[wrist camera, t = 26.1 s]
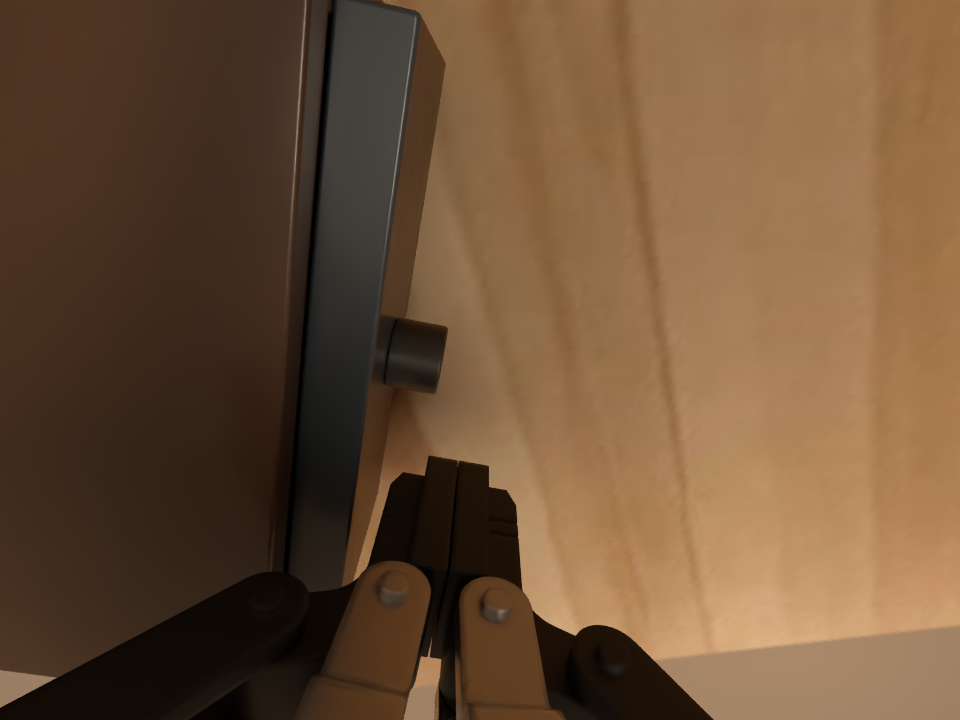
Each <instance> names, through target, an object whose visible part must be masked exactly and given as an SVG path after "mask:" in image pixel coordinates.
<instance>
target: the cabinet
mask: <svg viewBox="0 0 960 720" xmlns="http://www.w3.org/2000/svg"><path fill="white" fill-rule="evenodd" d="M333 1H334V0H0V670H3V671H11V672H18V673H27V674H33V675H42V676H49V677H56V678H58V677H60V676H61V675H63V674H65V673H67V672H69V671H71V670H73V669H75V668H77V667H78V666H80V665H82V664H84V663H86V662H88V661H90V660H92V659H94V658H96V657H97V656H99V655H101V654H103V653H105V652H107V651H109V650H111V649H113V648H114V647H116V646H118V645H120V644H122V643H124V642H126V641H128V640H130V639H131V638H133V637H135V636H137V635H139V634H141V633H143V632H145V631H147V630H148V629H150V628H152V627H154V626H156V625H158V624H160V623H162V622H164V621H166V620H167V619H169V618H171V617H173V616H175V615H177V614H179V613H181V612H183V611H184V610H186V609H188V608H190V607H192V606H194V605H196V604H198V603H200V602H201V601H203V600H205V599H207V598H209V597H211V596H213V595H215V594H217V593H218V592H220V591H222V590H224V589H226V588H228V587H230V586H232V585H234V584H236V583H237V582H239V581H241V580H243V579H245V578H247V577H249V576H252V575H255V574H258V573H263V572H272V571H274V572H283V573H286V567H287V555H288V543H289V531H290V519H291V507H292V495H293V483H294V471H295V466H294V468H293V470H292V457H293V445H294V432H295V420H296V407H297V395H298V382H299V370H300V358H301V345H302V333H303V320H304V308H305V295H306V283H307V270H308V258H309V245H310V233H311V220H312V208H313V195H314V183H315V171H316V158H317V146H318V133H319V121H320V108H321V96H322V83H323V71H325V72H326V73H328V61H329V49H330V37H331V24H332V12H333ZM373 1H377V2H381V3H384V2H383V1H382V0H373ZM291 470H292V471H291Z"/></svg>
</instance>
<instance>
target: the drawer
mask: <svg viewBox="0 0 960 720" xmlns="http://www.w3.org/2000/svg"><path fill="white" fill-rule="evenodd" d="M444 71H445V61H444V59H443V57H442V55H441V53H440V51H439V49H438V48H437V46H436V44H435V42H434V40H433V38H432V36H431V34H430V32H429V30H428V28H427V26H426V24H425V22H424V20H423V18H422V17H421V15H420V13H418V12H417V11H415V10H411V9H406V8H402V7H398V6H394V5H390V4H385V3H381V2H377V1H373V0H334V1H333V12H332V24H331V37H330V49H329V61H328V73H326V72H325V71H323V83H322V96H321V108H320V121H319V133H318V146H317V158H316V171H315V183H314V195H313V208H312V220H311V233H310V245H309V258H308V270H307V283H306V295H305V308H304V320H303V333H302V345H301V358H300V370H299V382H298V395H297V407H296V420H295V432H294V445H293V457H292V470H293V468H294V466H295V471H294V483H293V495H292V507H291V519H290V531H289V543H288V555H287V567H286V573H288V574H290V575H293V576H295V577H296V578H298V579H299V580H301V581H302V582H303V583H304V585H305V586H306V587H307V589H308V592H317V591H326V590H332V589H337V588H340V587H343V586H346V585H348V584H350V583H352V582H353V579H354V576H355V572H356V569H357V565H358V561H359V558H360V554H361V551H362V547H363V544H364V540H365V536H366V533H367V529H368V526H369V522H370V519H371V515H372V511H373V508H374V504H375V501H376V497H377V494H378V488H379V482H380V476H381V470H382V463H383V457H384V451H385V444H386V438H387V432H388V425H389V419H390V413H391V406H392V400H393V394H394V387H396V388H401V389H407V390H412V391H418V392H423V393H429V394H435V393H436V391H437V387H438V382H439V377H440V372H441V366H442V361H443V356H444V350H445V345H446V339H447V333H448V328H447V327H446V326H441V325H436V324H430V323H425V322H420V321H415V320H410V319H405V318H406V312H407V305H408V299H409V293H410V286H411V280H412V274H413V267H414V261H415V255H416V248H417V242H418V236H419V229H420V223H421V217H422V210H423V204H424V198H425V191H426V185H427V179H428V172H429V166H430V160H431V153H432V147H433V141H434V135H435V128H436V122H437V116H438V109H439V103H440V97H441V90H442V84H443V78H444ZM292 470H291V471H292Z"/></svg>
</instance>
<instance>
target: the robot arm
mask: <svg viewBox="0 0 960 720" xmlns="http://www.w3.org/2000/svg"><path fill="white" fill-rule="evenodd" d="M457 465H458V467H457ZM431 639H432V643H431ZM430 643H431V652H430V657H432V658H438V659H441V671H440V679H439V683H438V687H437V691H436V695H435V720H713V719H712V718H711V717H710V716H709V715H708V714H707V713H706V712H705V711H704V710H703V709H702V708H701V707H700V706H699V705H698V704H697V703H696V702H695V701H694V700H693V699H692V698H691V697H690V696H689V695H688V694H687V693H686V692H685V691H684V690H683V689H682V688H681V687H680V686H679V685H678V684H677V683H676V682H675V681H674V680H673V679H672V678H671V677H670V676H669V675H668V674H667V673H666V672H665V671H664V670H663V669H662V668H661V667H660V666H659V665H658V664H657V663H656V662H655V661H654V660H653V659H652V658H651V657H650V656H649V655H648V654H647V653H646V652H645V651H644V650H643V649H642V648H641V647H640V646H639V645H638V644H637V643H636V642H634V641H633V640H632V639H631V638H630V637H628V636H627V635H626V634H624V633H622V632H621V631H619V630H617V629H614V628H612V627H608V626H603V625H592V626H588V627H586V628H583V629H582V630H581V631H579V633H578V634H577V635H576V636H574V635H572V634H570V633H568V632H566V631H564V630H561V629H559V628H557V627H555V626H553V625H551V624H549V623H547V622H546V621H544V620H543V619H542V618H540V617H539V616H538V615H537V614H536V613H535V612H534V611H533V610H532V607H531V604H530V602H529V599H528V598H527V596H526V595H525V594H524V592H523V590H522V581H521V567H520V553H519V539H518V526H517V512H516V505H515V503H514V502H513V500H512V498H511V497H510V495H509V493H508V492H507V490H502V489H496V488H491V487H489V466H486V465H481V464H475V463H469V462H464V461H459V463H458V461H457V460H452V459H446V458H441V457H435V456H429V457H428V462H427V467H426V472H425V476H422V475H416V474H410V473H405V472H403V473H402V474H401V475H400V476H399V477H398V478H397V479H395V480H394V481H393V482H392V483H391V485H390V488H389V492H388V496H387V499H386V503H385V506H384V510H383V514H382V517H381V521H380V524H379V528H378V531H377V535H376V539H375V542H374V546H373V549H372V553H371V556H370V560H369V563H368V566H367V568H366V569H365V570H364V571H363V572H362V573H361V575H360V576H359V578H357V579H356V580H355V581H353V582H352V583H350V584H348V585H346V586H343V587H340V588H337V589H332V590H326V591H317V592H308V589H307V587H306V586H305V585H304V583H303V582H302V581H301V580H299V579H298V578H296V577H295V576H293V575H290V574H288V573H283V572H274V571H272V572H263V573H258V574H255V575H252V576H249V577H247V578H245V579H243V580H241V581H239V582H237V583H236V584H234V585H232V586H230V587H228V588H226V589H224V590H222V591H220V592H218V593H217V594H215V595H213V596H211V597H209V598H207V599H205V600H203V601H201V602H200V603H198V604H196V605H194V606H192V607H190V608H188V609H186V610H184V611H183V612H181V613H179V614H177V615H175V616H173V617H171V618H169V619H167V620H166V621H164V622H162V623H160V624H158V625H156V626H154V627H152V628H150V629H148V630H147V631H145V632H143V633H141V634H139V635H137V636H135V637H133V638H131V639H130V640H128V641H126V642H124V643H122V644H120V645H118V646H116V647H114V648H113V649H111V650H109V651H107V652H105V653H103V654H101V655H99V656H97V657H96V658H94V659H92V660H90V661H88V662H86V663H84V664H82V665H80V666H78V667H77V668H75V669H73V670H71V671H69V672H67V673H65V674H63V675H61V676H60V677H58V678H56V679H54V680H52V681H50V682H48V683H46V684H44V685H43V686H41V687H39V688H37V689H35V690H33V691H31V692H29V693H27V694H25V695H24V696H22V697H20V698H18V699H16V700H14V701H12V702H10V703H8V704H7V705H5V706H3V707H1V708H0V720H403V719H404V714H405V710H406V705H407V701H408V696H409V692H410V690H411V689H412V687H413V685H414V683H415V680H416V676H417V671H418V667H419V662H420V658H421V656H423V657H427V656H428V652H429V648H430Z"/></svg>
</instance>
